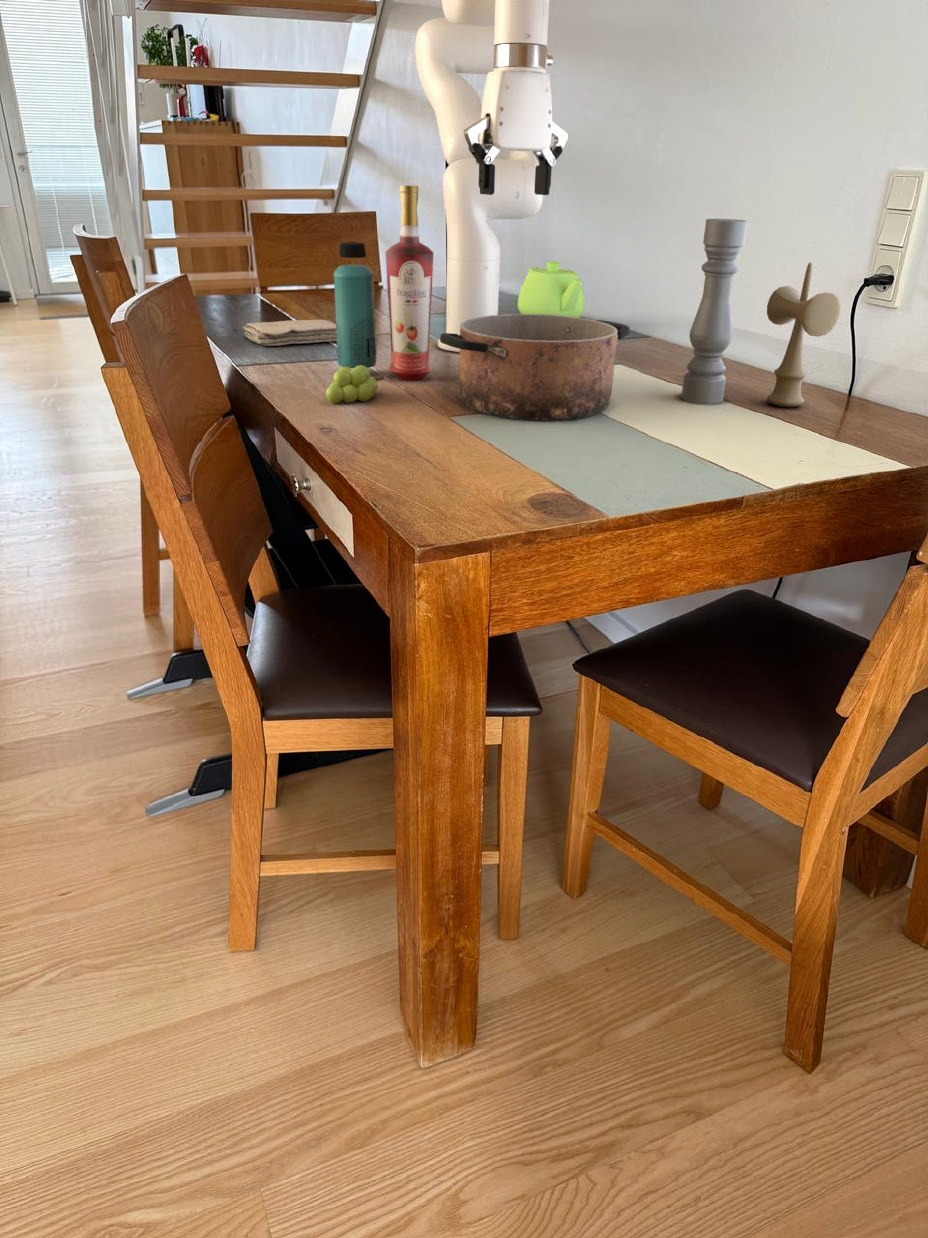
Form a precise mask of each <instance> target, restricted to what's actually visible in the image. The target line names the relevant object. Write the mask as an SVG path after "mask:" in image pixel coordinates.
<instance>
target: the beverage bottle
mask: <svg viewBox="0 0 928 1238" xmlns="http://www.w3.org/2000/svg"><path fill="white" fill-rule="evenodd" d="M338 257H339V258H346V259H360V258H361V259H363V258H367V252H366V244H365V243H364V242H359V241H345V242H344V241H343V242H340V243H339V251H338ZM332 275H333V282H334V283H333V287H334V307H335V309H334V310H335V321H334V324H336V329H335V330H336V336H337V341H335V343H336V344H335V346H336V347H335V349H336V353H335V354H336V358H337V359H336V361H337V363H338V366H339V367H340V368H341V367H344V366H346V367H349V368H351V369H354V368H355V367H356V366H359V365H362V366H365V367H366V368H367V369H369V368H373V367H375V366H376V364H377V361H378V357H377V354H378V353H377V352H378V351H377V347H378V346H377V342H378V341H376V328H377V326H376V324H377V321H376V312H375V311H376V307H375V299H376V297H375V290H374V286H375V285H374V272H373V271H372V270H371V268H369V266H367V265H365V264H341V265H339V266H338V267H337V268H336V269H335V270H334V272H333V274H332Z"/></svg>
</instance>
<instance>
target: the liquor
mask: <svg viewBox="0 0 928 1238" xmlns="http://www.w3.org/2000/svg"><path fill="white" fill-rule="evenodd" d="M399 198H400V204H401V219H400V229H399V230H400V232H399V242H397V243H395V244H392V245H391V246H390V247H389V248H388V249H387V250H386V251H385V265H386V286H387V299H388V312H389V330H390V353H391V358H390V359H391V364H390V366H389V367H388V370H389V371H390V372H391V373H392V374H393V375H394V376H395V378H396V379H398V380H403V381H419V380H424V379H425V378H426V376H427V375H428V374H429V373H430V372H432V367H431V365H430V333H431V332H430V330H431V312H432V311H431V310H432V298H433V297H432V294H433V277H434V276H433V273H434V251H433V250H432V249H431V248H430V247H429V246H428V245H425V244H423V243H422V242H421V241H420V232H419V219H418V217H419V216H418V203H419V185H400V186H399Z"/></svg>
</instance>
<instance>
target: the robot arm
mask: <svg viewBox="0 0 928 1238" xmlns="http://www.w3.org/2000/svg"><path fill="white" fill-rule="evenodd" d="M441 6H442V11H443V15H444V17H438V18H433V19H429V20H427V21H425V22H424V23H423V24H422V25H421V26H420V27H419V28H418V30H417V33H416V37H415V42H414V50H415V51H414V56H415V63H416V64H415V65H416V71H417V74H418V78H419V79H418V80H419V81H420V84H421V87H422V89H423V92H424V94H425V96H426V98H427V100H428V102H429V104H430V106H431V108H432V110H433V111H434V115H435V118H436V124H437V129H438V134H439V139H440V143H441V148H442V152H443V156H444V159H445V161H446V163H447V164H448V166H447V167H446V168H445V171H444V172H443V175H442V194H443V195H442V196H443V203H444V211H445V221H446V300H445V301H446V307H445V308H446V310H445V315H446V316H445V318H446V319H445V333H453V334H458V335H460V324H461V323H462V322H464V321H465V320H468V319H472V318H476V317H482V316H490V315H499V294H500V293H499V291H500V265H501V263H500V262H501V247H500V243H499V240H498V238H497V236H496V235H495V233H494V232H493V230H492V229H491V228H490V226H489V225H488V221H489V220H525V219H530V218H533V217H534V216H535V215H537V214H538V213H539V210H540V209H541V207H542V204H543V199H544V196H549V195H550V191H551V190H550V189H551V185H552V171H553V170H552V167H553V166H555V164H556V163H557V162H556V161H557V160H558V159H559V157H560V156H561V155H562V153H563V148H564V147H565V145H566V143H567V141H568V138H569V134H568V132H567V131H565V130H564V129H563V128H562V127H560V126H559V125H557V124H556V123H555V122H554V121H553V100H552V87H551V86H552V85H551V79H550V73H547V67H549V66H550V67H551V66H552V65H553V62H554V59H553V56H552V55H551V54H548V37H549V36H548V35H549V18H550V17H549V16H550V0H441ZM460 74H471V75H486V80H485V83H484V89H483V94H482V95H483V96H482V101H481V98H480V96H479V94H478V92H477V91H476V90H475V88H474V87H473V86H472V84H471V83H469V81H467V80H466V79H465V78H464V77H462V76H461V75H460ZM552 137H553V139H554V140H553V144H552V146H551V142H552ZM550 146H551V147H550ZM437 347H438V348H439V349H441V350H445V351H449V352H453V353H460V349H459V348H455V347H452V346H448V345H446V344H443V343H441V342H440V338H438V339H437Z"/></svg>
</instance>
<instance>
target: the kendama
mask: <svg viewBox="0 0 928 1238" xmlns="http://www.w3.org/2000/svg"><path fill="white" fill-rule="evenodd" d="M812 272H813V263H812V262H808V264H807V267H806V269H805V273H804V278H803V282H802V288H801V292H800V291H799V290H798V289H796V288H795V287H794V286H790V285H785V286H779V287H778V288H776V289H775V290H773V291H772V293H771V294H770V297H769V299H768V301H767V304H766V315H767V318H768V320H769V322H771V323H772V324H773V325H777V326H782V325H787V324H789V323H791V322H792V321H794V323H793V327H792V331H791V335H790V338H789V341H788V344H787V347H786V349H785V353H784V356H783V359H782V361H781V363H780V365H779V366H778V368H776V369H775V370H774V371H773V373H774V376H775V378H776V379H775V384H774V389H773V391H772V392H770V394H768V396H767V398H766V399H767V401H768V403H770V404H771V405H774V406H777V407H785V408H795V407H800V406H802V405H803V404H804V403H805V399H804V398H803V397H802V390H801V389H802V383H803V381H804V379H805V378H806V377H807V373H806V372H805V370H804V367H803V343H804V332H805V333H806V334H808V335H809V336H811V337H816V338H819V337H823V336H826V335H828V334H829V333H831V331H833V329H834V328H835V327H836V325H837V323H838V320H839V317H840V314H841V303H840V299H839V297H838V296H837V295H835V294H834V293H832V292H829V291H824V292H820V293H817V294H815V295H813V296H812V297H811V298H809V293H810V286H811V280H812ZM808 298H809V299H808Z"/></svg>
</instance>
